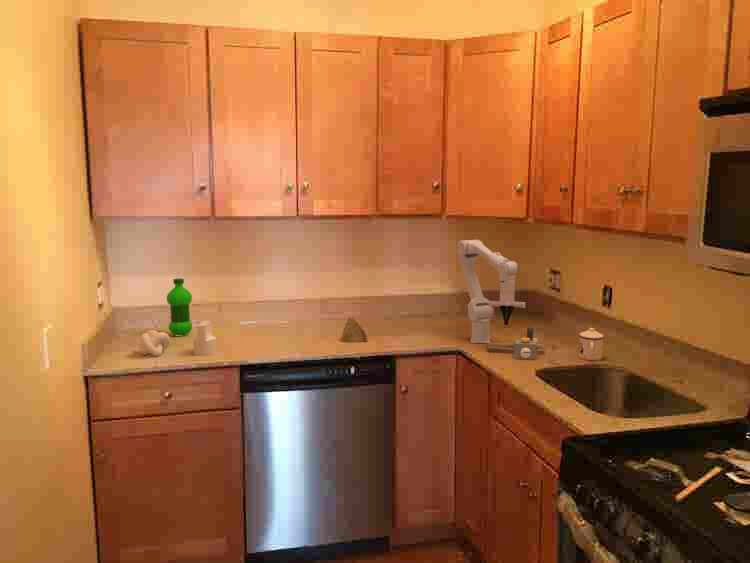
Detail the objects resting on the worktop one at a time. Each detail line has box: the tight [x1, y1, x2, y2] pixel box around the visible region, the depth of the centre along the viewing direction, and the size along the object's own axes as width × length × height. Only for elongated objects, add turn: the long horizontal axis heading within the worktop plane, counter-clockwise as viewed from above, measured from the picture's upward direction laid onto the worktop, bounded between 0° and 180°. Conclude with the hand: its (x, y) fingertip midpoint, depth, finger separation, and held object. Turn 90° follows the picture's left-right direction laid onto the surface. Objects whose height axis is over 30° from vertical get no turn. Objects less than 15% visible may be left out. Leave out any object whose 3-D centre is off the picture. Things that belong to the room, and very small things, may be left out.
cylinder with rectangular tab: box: [192, 320, 218, 357], centre depth 248 cm, size 9×9×12 cm
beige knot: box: [138, 329, 171, 357], centre depth 247 cm, size 11×12×9 cm
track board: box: [487, 343, 546, 355], centre depth 254 cm, size 9×22×2 cm, turn 81°
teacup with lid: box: [578, 327, 605, 361], centre depth 242 cm, size 12×9×12 cm
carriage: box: [526, 326, 539, 348], centre depth 252 cm, size 6×6×8 cm
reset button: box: [520, 336, 530, 343], centre depth 243 cm, size 4×4×2 cm
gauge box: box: [513, 339, 537, 360], centre depth 244 cm, size 7×8×6 cm
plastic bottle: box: [166, 278, 193, 337], centre depth 276 cm, size 10×10×25 cm
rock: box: [340, 317, 368, 343], centre depth 267 cm, size 11×9×10 cm
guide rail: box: [489, 341, 543, 348], centre depth 254 cm, size 2×21×1 cm, turn 81°
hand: (506, 324), depth 254 cm, fingers closed
